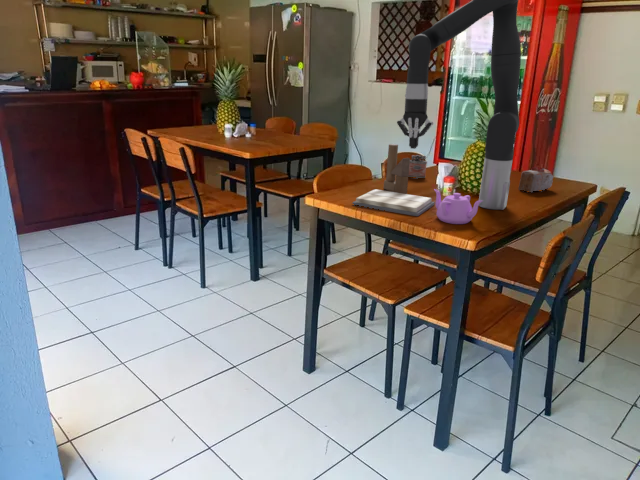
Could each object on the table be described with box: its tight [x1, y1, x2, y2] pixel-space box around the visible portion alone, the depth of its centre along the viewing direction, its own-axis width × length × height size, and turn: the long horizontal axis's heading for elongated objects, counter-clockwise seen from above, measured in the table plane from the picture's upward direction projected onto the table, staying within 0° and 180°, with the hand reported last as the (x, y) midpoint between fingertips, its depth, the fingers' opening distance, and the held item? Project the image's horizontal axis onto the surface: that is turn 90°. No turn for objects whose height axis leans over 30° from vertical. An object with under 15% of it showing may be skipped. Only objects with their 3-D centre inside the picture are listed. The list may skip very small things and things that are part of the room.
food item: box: [517, 166, 554, 193], centre depth 205 cm, size 14×8×10 cm, turn 125°
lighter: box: [408, 154, 428, 179], centre depth 221 cm, size 8×3×10 cm, turn 81°
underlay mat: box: [352, 200, 436, 217], centre depth 177 cm, size 24×18×1 cm
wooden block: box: [383, 143, 411, 194], centre depth 193 cm, size 4×11×18 cm, turn 29°
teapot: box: [433, 188, 482, 225], centre depth 161 cm, size 12×14×9 cm
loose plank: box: [365, 188, 433, 207], centre depth 180 cm, size 22×8×2 cm, turn 61°
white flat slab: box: [355, 193, 424, 212], centre depth 173 cm, size 22×8×2 cm, turn 61°
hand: (413, 148), depth 177 cm, fingers closed
